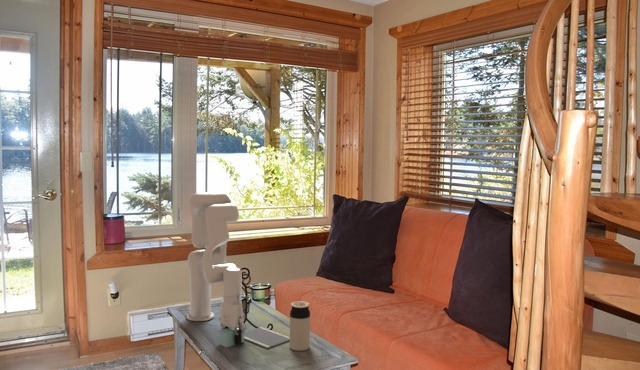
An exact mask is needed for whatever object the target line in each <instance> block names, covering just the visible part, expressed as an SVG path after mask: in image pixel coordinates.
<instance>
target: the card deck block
mask: <svg viewBox="0 0 640 370" xmlns="http://www.w3.org/2000/svg"><path fill="white" fill-rule="evenodd" d="M237 330H239V328H237ZM244 332H245V330H244V331H243V333H242V339H241V343H240V344H242V343H244V342H245V340H244ZM234 335H235V330H234V329H232V328H226V329H223V330H222V329H220V330H219V345H220V346H222V347H224V348H229V347H232V346H235V345H237V344H234Z"/></svg>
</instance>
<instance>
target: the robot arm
mask: <svg viewBox="0 0 640 370" xmlns="http://www.w3.org/2000/svg"><path fill="white" fill-rule="evenodd" d="M188 207H189V211H190V214H191V243H192V246H193V247H194V248H196V249H197V248H198V249H197V250H194V251H191V252H189V254H188V256H187V265H188V270H189V271H188V272H189V306H187V307H186V310H188V313H187V314H186V319H187V320H188V321H192V322H205V321H209V320H212V319H213V318H214V317H215V313H214V312H212V285H213V284H220V283H221V284H222V300H221V303H220V304H221V305H220V309H219V310H220V311H219V318H218V320H219V323H220V326H221V330H223V329H226V328H232V329H234V330H235V335H234V344H236V345H238V344H242V343H241V339H242V333H243V331H244V332H245V329H246V328H247V326H246V325H245V323H244V320H243V313H244V308H243V303H242V294H243V293H242V288H243V285H242V281H243V280H242V279H243V278H242V277H243V276H242V273H243V271H242V269H241V268H239V267H237V265H236V264H235V263H230V262H229V263H226V262H227V247H228V245H227V244H228V242H229V241H230V234H229V233H230V232H229V229H228V228H229V227H228V224H232V223H233V224H234V223H236V222H237V221H238V220H239V219H240V218H239V217H240V213H239V209H238V207H237V204H236V203H235V201H234V200H233V198H232V197H231V196H230V195H229V194H228V193H227V192H225V191H217V192H216V191H214V192H209V191H208V192H196V193H193V194H191V195H190V197H189V200H188ZM201 248H203V249H201ZM237 328H239V330H237Z"/></svg>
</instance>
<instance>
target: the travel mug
mask: <svg viewBox="0 0 640 370" xmlns="http://www.w3.org/2000/svg"><path fill="white" fill-rule="evenodd" d="M310 305H311V304H310V303H309V302H307V301H304V300H303V301H301V300H300V301H299V300H298V301H293V302H291V303H290V306H291V308H290V309H291V310H290V311H289V313H290V314H289V337H290V341H289V348H290V349H291V350H292V351H296V352H302V351H303V352H304V351H306V350H309V349H310V339H311V335H310V332H311V329H310V327H311V311H310V309H309V308H310Z"/></svg>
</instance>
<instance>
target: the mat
mask: <svg viewBox="0 0 640 370" xmlns="http://www.w3.org/2000/svg"><path fill="white" fill-rule="evenodd" d="M244 341H247V342H249V343H252V344H255V345H257V346H259V347H261V348H265V349H267V350H269V349H271V348H274V347H277V346H279V345H283V344H285V343H288V342H290V336H288V335H284V334H282V333H279V332H277V331H274V330H271V329H269V328H266V327H263V326H259V327H257V328H253V329H251V330H246V331H244Z"/></svg>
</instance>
